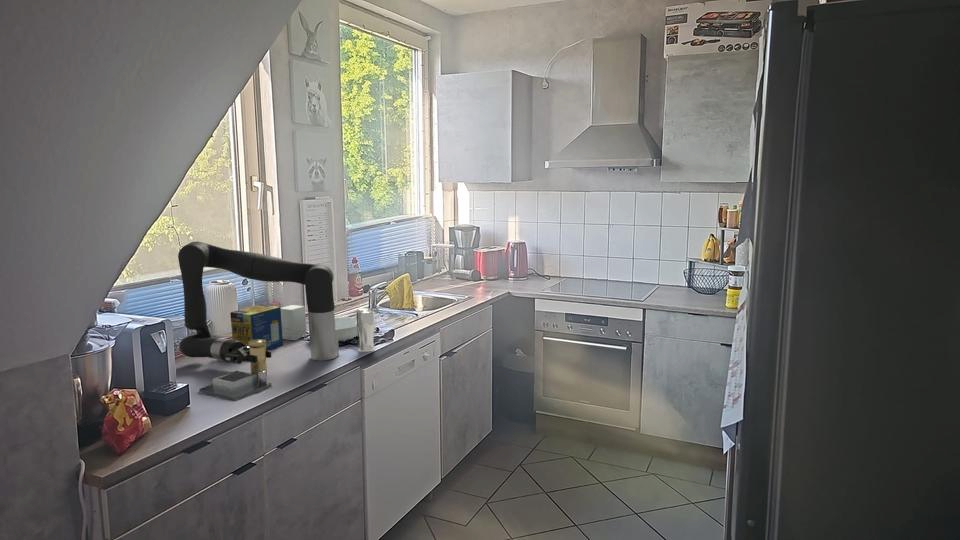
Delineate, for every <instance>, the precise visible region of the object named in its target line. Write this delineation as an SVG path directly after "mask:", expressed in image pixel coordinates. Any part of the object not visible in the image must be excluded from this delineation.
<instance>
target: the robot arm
mask: <svg viewBox="0 0 960 540" xmlns="http://www.w3.org/2000/svg"><path fill="white" fill-rule="evenodd" d="M177 257H178V258H177V259H178V265H179V268H180V276H181V280H182V281H181V282H182V288H183V301H184V305H183V307H184V327H185V328H186V329H187V330H192V331H193V330H194V331H196V334H192V335H188V336H185V337H183V338H182V339H181V340H180V343H179V350H180V351H181V353H182V355H184V356H185V357H188V358H209V359H215V360H218V361H221V362H225V363H230V364H239V365H240V364H242V363H250V362H252V363H256V362H257V356H254V355H250V351H249V347H248V346H245V345H244V344H243V343H242V342H241V341H236V340H233V339H229V338H221V337H220V338H219V337H213V336H212V334H211V332H210V329H209V326H208V322H207V321H208V320H207V318H208V317H207V316H208V315H207V311H208V310H207V309H208V308H207V300H206V296H205V293H204V287H203V275H204V274H203V273H204V269H205V268H213V269H221V270H225V271H228V272H231V273H233V274H234V275H237V276H240V277H242V278H245V279H248V280H255V281H259V282H267V283H269V282H271V283H281V282H282V283H283V282H289V283H294V284H295V283H296V284H300V285H304V286H305V301H306V306H307V317H308V331H309V332H308V333H309V347H310V348H309V349H310V350H309V351H310V360H314V361H329V360H332V359H335V358H337V356H339V355H340V350H339V342H338V330H337V329H336V327H335V318H336V314H335V301H334V288H333V282H334V273H333V271H332V269H331V268H329V267H328V266H327V265H326V264H321V263H320V264H319V263H318V264H317V263H306V262H305V263H304V262H296V261H292V260H289V259H284V258H280V257H276V256H271V255H267V254H262V253H259V252H258V253H257V252H252V251H244V250H235V249H228V248H223V247H220V246H217V245H213V244H209V243H206V242H203V241H197V240H196V241H191V242H189V243H187V244H185V245H183V246H182V247H181V248H180V249H179V251H178V255H177ZM271 358H272V350H269V351H267V347H266V359H271Z"/></svg>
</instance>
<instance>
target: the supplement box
mask: <svg viewBox="0 0 960 540" xmlns="http://www.w3.org/2000/svg"><path fill="white" fill-rule="evenodd" d="M305 308H306V307H305V305H297V304H291V305H287V306H283V307H281V322H282V337H283V340H286V341H287V340H288V341H297V340H300V339H299V338H301V337H302V336H303V335H305V334H308V333H307V321H306V309H305ZM301 339H302V338H301Z"/></svg>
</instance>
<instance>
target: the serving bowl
mask: <svg viewBox="0 0 960 540" xmlns="http://www.w3.org/2000/svg"><path fill="white" fill-rule="evenodd" d="M335 327H336V329H337V330H338V341H343V342H345V341H344V340H347V341H349V340H352V339H354V337H355V338H356V336H357V337H358V334H357V329H356V317H352V316H351V317H348V316H346V317H345V316H342V317H341V316H339V317H335ZM348 339H349V340H348Z"/></svg>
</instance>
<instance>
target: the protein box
mask: <svg viewBox="0 0 960 540" xmlns="http://www.w3.org/2000/svg"><path fill="white" fill-rule="evenodd" d="M281 308H282V307H281V306H276V305H275V306H274V305H268V304H262V303H261V304H257V305H253V306H249V307H246V308H242V309H238V310H235V311H230V313H229V314H230V324H231V335H232V336H231V337H232V339H231V340H236V341H241V342H242V343H243V344H244V345H245V346H248V342H249V341H251V340H255V339H264V340H266V346H265V347H267V351H268V350H269V351H272V350H274V348H275V349H277V347H278V348H280V347H283V346H284V341H283V340H284V339H283V337H282V322H281Z"/></svg>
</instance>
